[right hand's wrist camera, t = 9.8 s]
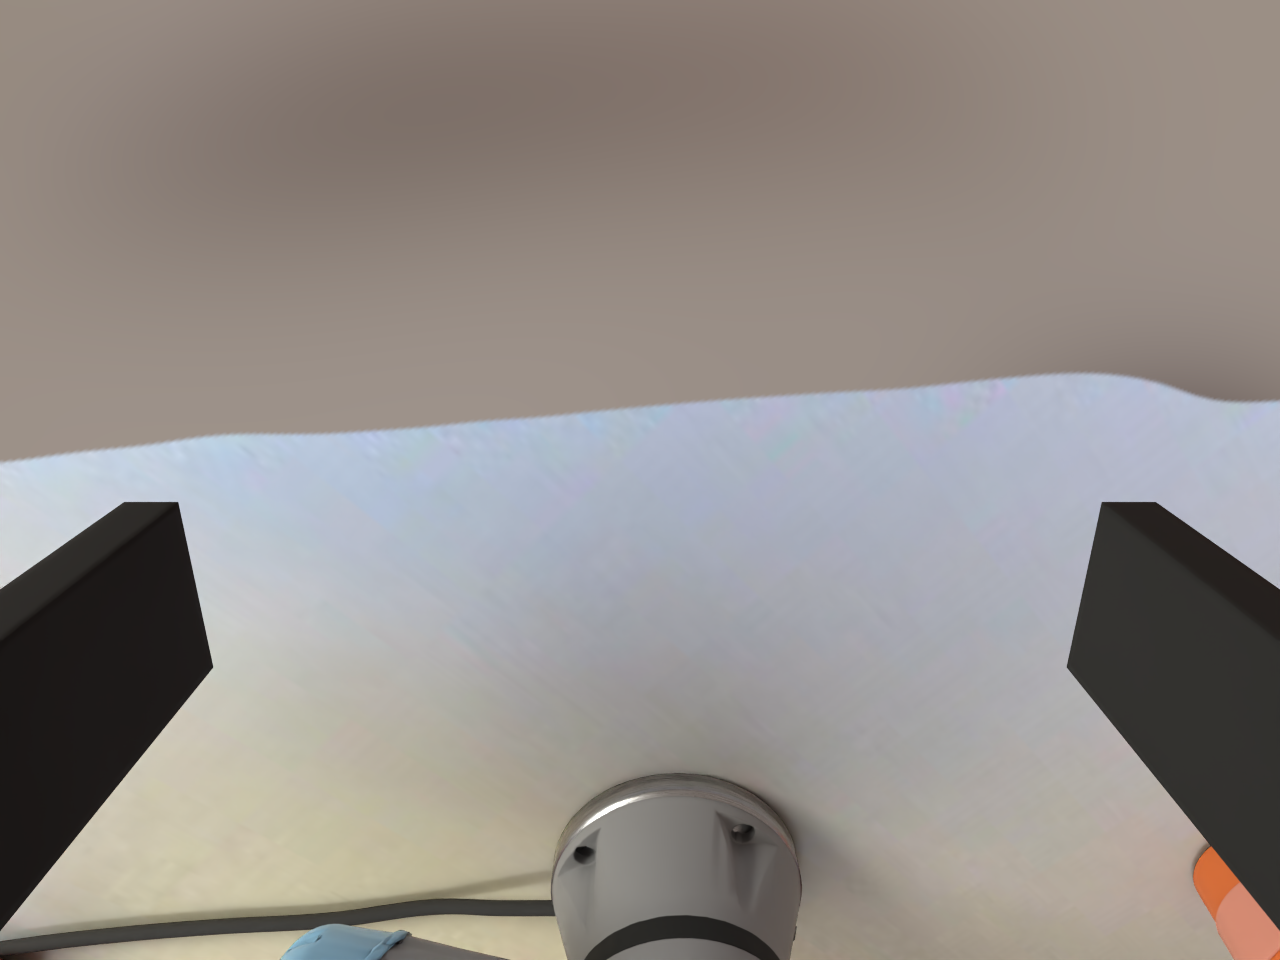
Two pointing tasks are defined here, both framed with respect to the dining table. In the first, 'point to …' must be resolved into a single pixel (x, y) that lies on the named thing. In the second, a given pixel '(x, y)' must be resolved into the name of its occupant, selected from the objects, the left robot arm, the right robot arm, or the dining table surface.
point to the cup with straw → (1235, 911)
